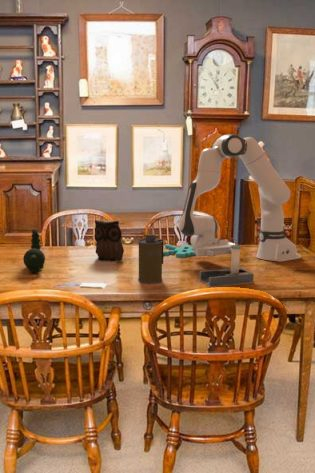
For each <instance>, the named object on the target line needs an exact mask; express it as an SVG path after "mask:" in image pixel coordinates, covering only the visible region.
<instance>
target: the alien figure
mask: <svg viewBox="0 0 315 473" xmlns="http://www.w3.org/2000/svg"><path fill="white" fill-rule="evenodd" d="M164 248H165V249H168V250H163V257H164V256H170V255H169V254H172V255H174V254H175V257H176V258H185V257H194V256H197V255H196V254H195V251H192V250H191V249H192V248H194V247H193V246H192V245H190V244H181V246H180V247H178V246H174V245H173V244H172V245H171V244H170V243H169V244H168V243H166V244H165V246H164ZM171 249H172V250H171ZM172 255H171V256H172Z"/></svg>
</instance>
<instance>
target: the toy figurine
mask: <svg viewBox="0 0 315 473" xmlns="http://www.w3.org/2000/svg"><path fill="white" fill-rule="evenodd" d="M31 232H32V233H31V240H30V242H31V245H30V249H28V250H27V251H26V252H25V253H24V255H23V258H22V259H23V264H24V266H25V267H26V269H27V270H29V273H31V274H32V275H35V274H38V273H39V272H40V269H41V270H42V269H44V267H45V266H44V264H45V262H46V256H45V253H44V252H43V251H42V250H41V248H42V245H41V244H40V242H41V239H40V238H39V237H40V234H39V233H38V229H37V228H33V229H32V230H31Z"/></svg>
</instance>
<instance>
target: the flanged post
mask: <svg viewBox="0 0 315 473" xmlns="http://www.w3.org/2000/svg"><path fill="white" fill-rule="evenodd" d="M241 247H242V246H241V245H239V244H236V245H231V248H232V253H231V254H230V255H231V259H230V268H231V274H234V273H239V267H240V256H241V255H240V252H241Z"/></svg>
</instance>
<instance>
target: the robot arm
mask: <svg viewBox="0 0 315 473" xmlns="http://www.w3.org/2000/svg"><path fill="white" fill-rule="evenodd" d="M199 155H200V156H199V159H198V165H197V166H198V167H197V173H196V177H195V178H194V180H193V181H192V182H190V184H189V187H188V190H187V194H186V196H185V197H186V198H185V202H184V206H183V209H182V213H181V217H180V219H179V222H178V229H179V231H180V233H182V235H184V236H185V237H190V243H191V246H193V247H194V248H192V249H191V250H192V251H195V254H196V255H195V256H197V257H206V256H207V257H209V258H210V257H211V258H212V257H216V256H221V255H231V253H232V248H231V245H237V244H235V243H233V242H232V241H229V240H228V239H225V238H216V236H217V234H218V225H219V224H218V222H217V220H216V219H215V218H214V216H212V215H196V214H195V215H194V211H195V207H196V203H197V199H198V197H199V196H200V195H202V194H205V193H206V192H207V193H208V192H210V191H212V190H214V189H215V188H216V187H218V185H219V184H220V183H221V182H220V181H221V175H222V174H221V173H222V164H223V162H224V160H225V159H231V158H237V157H238V158H239V159H240V160H241V161H242V163H243V165H244V167H245V168H246V170H247V171H248V173H249V175H250V176H251V178H252V180H254V182H255V183H256V185H257V186H258V194H259V203H260V216H261V217H260V229H259V242H258V249H257V253H256V258H257V259H259V260H260V259H261V260H264V261H274V262H279V263H281V262H287V261H292V260H293V261H294V260H297V259H302V256H301V254H299V253H298V252H297V251H298V250H297V246H296V244H294V243H293V241H291V240H290V239H288V237H287V236H290V235H291V232H290V231H288V230H284V223H285V221H284V220H285V214H284V211H283V204H286V203H287V202H288V201H289V200H290V197H291V189H290V188H289V187H288V185H287V184H286V183H285V181H284V180H283V178H282V177H281V175H280V174H279V173H278V172H277V170H276V169H275V168H274V167H273V164H272V163H271V161H270V160H269V158H268V156H267V154H266V153H265V151H264V149H263V148H262V147H261V145H260V144H259V143H258V142H257V140H256V139H255V138H254V137H251V136H246V137H241V136H239V135H237V134H235V133H234V134H233V133H231V134H224V135H221V136H219V137H217V138H216V139H215V140H214V141H213V143H212V145H211V146H210V147H208V148H207V147H206V148H204V149H203V150H202V151H201V152H200V154H199Z"/></svg>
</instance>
